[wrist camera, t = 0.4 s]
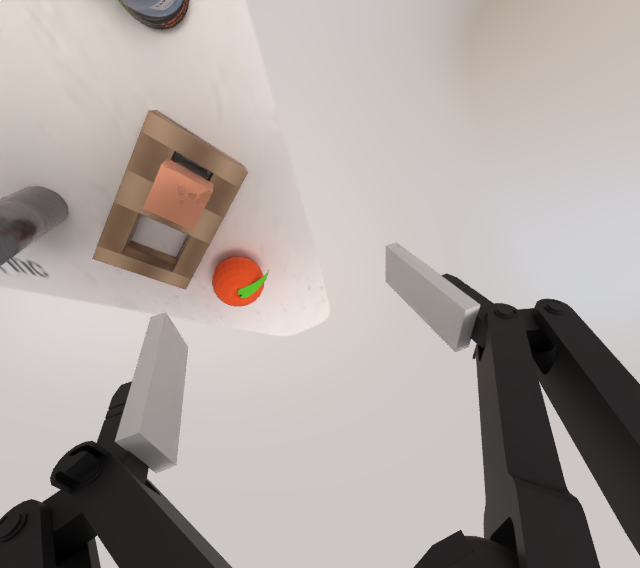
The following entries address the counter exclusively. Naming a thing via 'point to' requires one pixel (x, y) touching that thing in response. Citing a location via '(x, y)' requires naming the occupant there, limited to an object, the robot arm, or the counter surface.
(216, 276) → the clementine
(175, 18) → the beverage can
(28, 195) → the grey capped cylinder
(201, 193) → the pin
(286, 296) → the counter surface
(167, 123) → the mount block
